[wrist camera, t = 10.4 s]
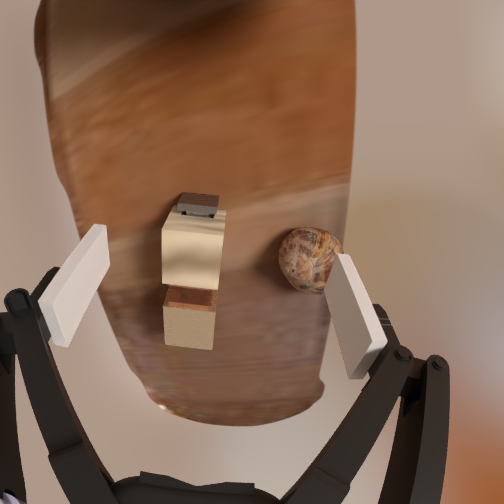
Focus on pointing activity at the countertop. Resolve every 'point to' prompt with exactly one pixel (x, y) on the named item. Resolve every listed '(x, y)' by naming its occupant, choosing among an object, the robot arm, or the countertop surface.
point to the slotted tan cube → (192, 250)
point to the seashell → (308, 258)
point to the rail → (191, 292)
